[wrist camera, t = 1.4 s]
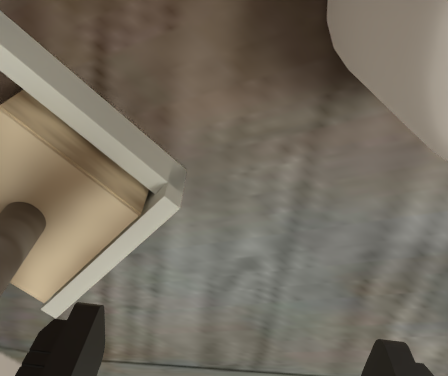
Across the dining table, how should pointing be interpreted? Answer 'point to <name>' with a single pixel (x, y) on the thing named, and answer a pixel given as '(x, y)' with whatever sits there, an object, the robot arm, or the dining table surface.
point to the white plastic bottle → (399, 59)
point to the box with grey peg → (55, 198)
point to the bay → (103, 140)
